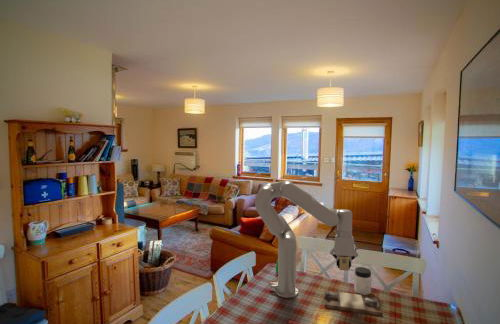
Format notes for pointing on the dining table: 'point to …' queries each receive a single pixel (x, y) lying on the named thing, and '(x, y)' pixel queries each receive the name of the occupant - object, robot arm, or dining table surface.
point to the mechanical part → (277, 266)
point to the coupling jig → (352, 302)
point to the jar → (362, 280)
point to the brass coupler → (344, 263)
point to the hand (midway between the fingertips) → (343, 267)
